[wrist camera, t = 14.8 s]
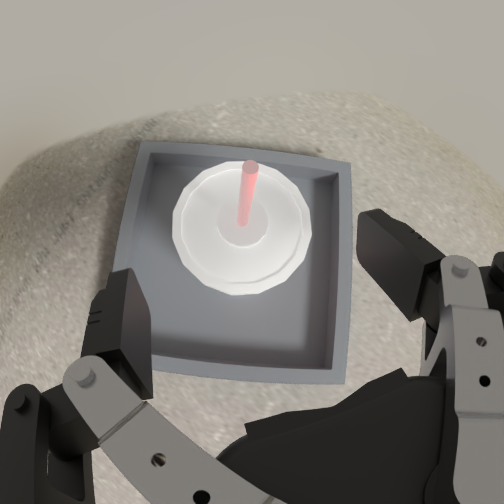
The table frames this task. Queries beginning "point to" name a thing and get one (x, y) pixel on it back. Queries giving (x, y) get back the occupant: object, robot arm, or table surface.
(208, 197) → the beverage cup
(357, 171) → the table surface
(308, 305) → the tray
